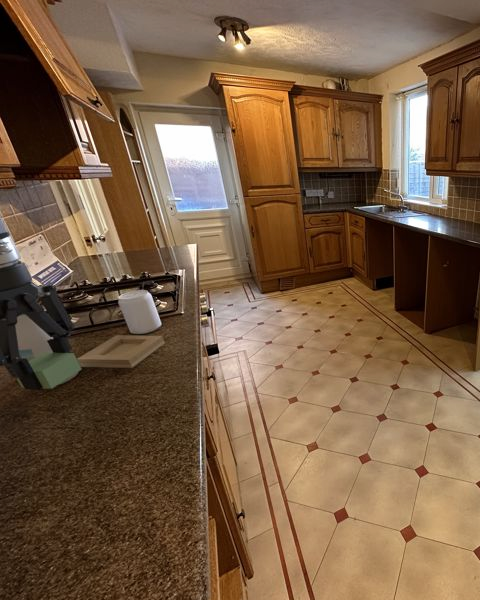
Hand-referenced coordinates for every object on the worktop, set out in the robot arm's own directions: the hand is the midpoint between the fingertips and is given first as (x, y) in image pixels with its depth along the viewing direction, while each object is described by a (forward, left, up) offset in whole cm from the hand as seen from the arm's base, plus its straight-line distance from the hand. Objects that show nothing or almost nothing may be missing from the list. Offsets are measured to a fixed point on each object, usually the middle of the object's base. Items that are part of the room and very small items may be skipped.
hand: (52, 376), depth 63 cm
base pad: (-9, +23, -10) cm, 27 cm away
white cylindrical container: (-14, +37, -11) cm, 41 cm away
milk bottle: (-17, +12, -11) cm, 23 cm away
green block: (0, 0, 0) cm, 0 cm away
